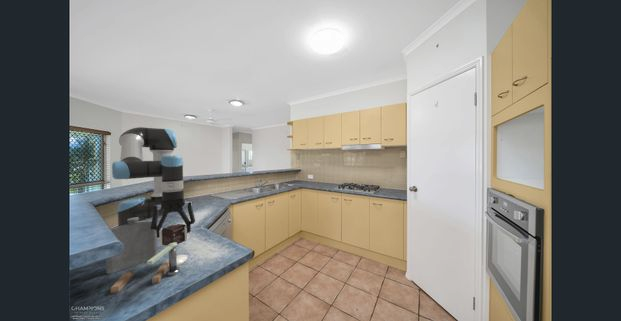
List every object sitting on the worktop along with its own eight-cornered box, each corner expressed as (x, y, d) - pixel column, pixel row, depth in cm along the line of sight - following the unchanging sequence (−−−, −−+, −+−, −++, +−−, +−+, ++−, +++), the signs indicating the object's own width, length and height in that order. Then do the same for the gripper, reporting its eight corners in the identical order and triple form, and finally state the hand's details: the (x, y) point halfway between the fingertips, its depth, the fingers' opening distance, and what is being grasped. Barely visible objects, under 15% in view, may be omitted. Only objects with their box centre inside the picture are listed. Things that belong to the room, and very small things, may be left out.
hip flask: (106, 275, 71) (105, 224, 71) (106, 270, 74) (105, 222, 73) (158, 257, 83) (157, 214, 82) (157, 254, 85) (156, 213, 85)
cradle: (126, 276, 70) (126, 271, 70) (168, 267, 75) (167, 262, 75) (110, 294, 60) (110, 288, 60) (159, 282, 66) (158, 277, 66)
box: (172, 247, 75) (171, 229, 75) (162, 245, 77) (161, 228, 77) (186, 240, 81) (185, 224, 81) (176, 239, 83) (176, 223, 83)
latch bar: (144, 265, 59) (144, 261, 59) (170, 245, 73) (170, 242, 73) (154, 264, 60) (154, 260, 60) (178, 244, 73) (178, 242, 73)
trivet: (165, 259, 81) (165, 257, 81) (189, 254, 85) (189, 252, 85) (158, 270, 73) (158, 268, 73) (184, 264, 77) (184, 262, 77)
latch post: (168, 270, 73) (167, 246, 72) (181, 268, 74) (180, 244, 74) (164, 277, 68) (163, 251, 68) (178, 274, 70) (177, 249, 70)
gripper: (137, 194, 71) (139, 251, 71) (199, 189, 80) (200, 240, 80) (146, 191, 78) (147, 243, 78) (202, 187, 86) (203, 234, 87)
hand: (174, 242), depth 79 cm, fingers closed on box, 8 cm apart
